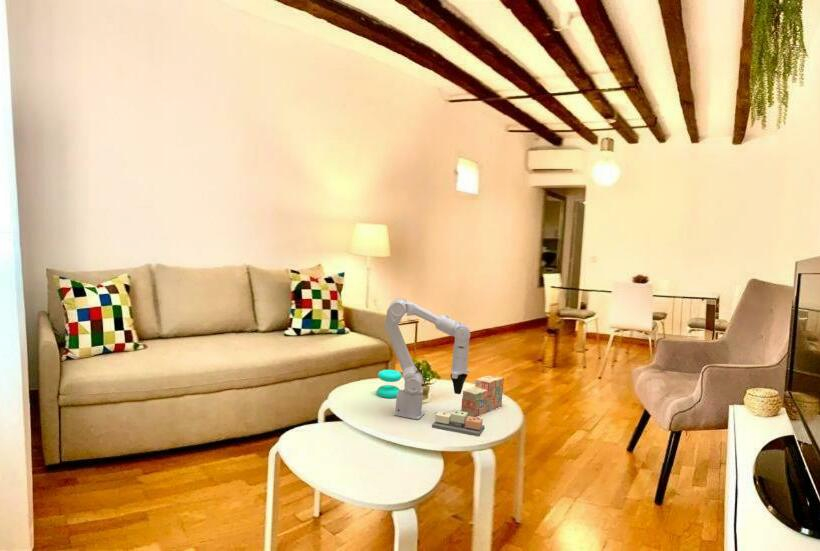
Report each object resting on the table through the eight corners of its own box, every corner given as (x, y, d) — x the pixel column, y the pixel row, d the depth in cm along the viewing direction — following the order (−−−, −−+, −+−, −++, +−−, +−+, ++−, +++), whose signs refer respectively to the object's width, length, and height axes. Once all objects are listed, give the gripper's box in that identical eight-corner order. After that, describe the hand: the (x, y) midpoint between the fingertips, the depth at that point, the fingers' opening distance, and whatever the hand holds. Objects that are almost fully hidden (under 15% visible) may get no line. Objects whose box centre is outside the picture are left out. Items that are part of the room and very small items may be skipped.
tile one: (435, 421, 182) (435, 414, 182) (438, 417, 187) (439, 410, 186) (448, 424, 180) (449, 416, 180) (452, 419, 185) (452, 412, 185)
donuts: (385, 367, 221) (406, 371, 217) (383, 390, 222) (404, 394, 218) (373, 372, 212) (395, 376, 208) (372, 395, 213) (393, 400, 209)
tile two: (450, 420, 180) (450, 413, 180) (453, 416, 185) (454, 409, 185) (464, 423, 178) (464, 415, 178) (467, 419, 183) (467, 411, 183)
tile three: (465, 427, 178) (465, 419, 178) (468, 422, 183) (468, 415, 183) (479, 429, 177) (479, 422, 176) (482, 425, 181) (482, 418, 181)
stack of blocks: (474, 418, 194) (477, 386, 193) (460, 414, 198) (463, 382, 197) (501, 406, 210) (504, 377, 210) (488, 403, 214) (490, 374, 214)
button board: (431, 427, 180) (432, 419, 180) (438, 419, 189) (439, 411, 189) (479, 436, 175) (479, 427, 175) (484, 428, 183) (484, 420, 183)
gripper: (466, 362, 181) (463, 400, 182) (475, 355, 194) (472, 390, 195) (447, 359, 183) (444, 397, 184) (457, 352, 197) (454, 387, 198)
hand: (457, 393), depth 190 cm, fingers closed
